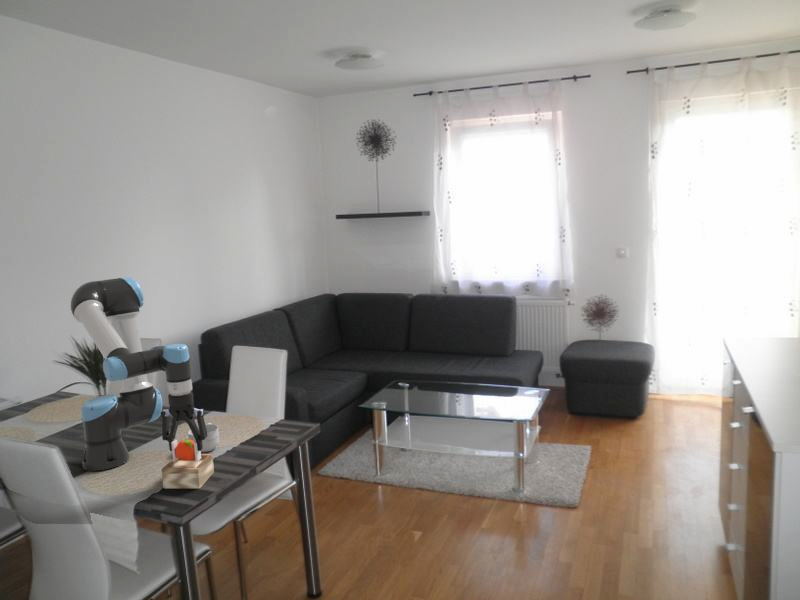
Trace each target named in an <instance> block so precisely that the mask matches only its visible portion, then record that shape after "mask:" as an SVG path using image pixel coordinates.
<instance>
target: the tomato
mask: <svg viewBox="0 0 800 600" xmlns="http://www.w3.org/2000/svg"><path fill="white" fill-rule="evenodd" d="M176 455H177V457H178V458H179V459H180V460H183V461H189V460H192V459H193V458H194V457H195V450H194V441H193V440H190V439H189V438H186V439H182V440H181V441H179V442H178V445H177V447H176Z"/></svg>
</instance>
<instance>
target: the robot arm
mask: <svg viewBox="0 0 800 600" xmlns="http://www.w3.org/2000/svg"><path fill="white" fill-rule="evenodd" d="M144 298H145V297H144V294H143V291H142V288H141V286H140V284H139V283H138V281H136V279H134V278H133V277H118V278H112V279H102V280H93V281H89V282H85V283H83V284H82V285H79V287H78V288H77V289H76V290H75V291H74V293H73V294H72V297H71V300H70V311H71V313H72V315H73V317H74V319H75V320H76V322H78V323H81V324H82V325H83V327H84V329H85V330H86V332H87V334H88V335H89V336H90V338H91V340H92V341H93V343H94V344H95V346H96V347H97V349H98V350H99V352H100V353H101V355H102V357H103V358H104V360H103V363H102V371H103V374H104V377H105V379H107V380H108V381H110V382H115V381H121V383H122V387H121V389H120V390H119V397H117V396H116V395H115V394H106V395H101V396H100V395H99V396H97V397H93V398H92V399H90V400H88V401H86V402H85V403H83V405H82V406H81V421H82V429H83V437H84V442H85V444H84V445H85V447H84V450H83V451H84V452H83V456H82V462H81V463H82V468H83V470H85V471H88V472H89V471H90V472H97V471H96V470H102V471H105V470H104V469H108V470H110V469H109V468H112V467H115V466H118V465H120V466H122V465H124V464H125V463H124V462H126V461H127V460H128V459H130V453H129V450H128V449H127V446H126V444H125V442H124V440H123V439H122V431H123V430H126V429H129V428H133V427H137V426H141V425H143V424H148V423H150V422H154V421H156V420H158V419H159V418H160V416H161V418H162V421H161V422H162V423H161V425H162V427H161V429H162V430H161V431H162V433H161V436H162V438H161V440H163V441H166V442H168V445H169V447H168V448H169V451H170V452H171V453H172V459H173V462H176V461H177V460H178V459H179V458H178V457H177V455H176V447H177V445H178V443H179V442H178V439H176V435H177V431H178V427H179V423H180V422H181V421H182V422H185V423H186V424H187V425H188V427H189V430H191V431H192V434H193V436H194V438H195V440H196V441H195V442H194V450H195V459H196V462H198V461H199V460H200V459H201V454H202V452H201V450H202V449H203V445H202V440H204V439H205V438H206V437H207V436H208V435H207V431H206V426H205V425H206V421H205V417H204V412H205V409H204V408H200V409H199V408H196V406H195V405H194V404H195V403H194V392H193V382H192V374H191V371H192V370H191V364H190V360H191V359H190V351H189V348H188V345H186V344H185V343H173V344H172V343H171V344H169V345H154V346H152V347H150V348H149V349H145V350H143V347H142V342H141V337H140V336H141V335H140V331H139V325H138V320H137V318H138V316H139V314H140V313H141V311H140V308H141V307H143V306H144V303H145V302H144ZM161 371H163V372H165V379H166V388H167V394H168V397H167V398H168V405H169V407H168V409H167V408H164V409H163V398H162V395H161V392H160V390H159V389H157V388H155V387H154V384H153V383H151V382H149V379H148V376H147V374H153V373H156V372H161ZM194 414H195V417H196V421H197V423H196V421H195V417H194ZM170 415H171V416H172V420H171V426H170ZM197 426H198V427H199V429H198V427H197ZM128 461H129V460H128ZM128 461H127V462H128ZM127 462H126V463H127ZM123 463H124V464H123ZM121 464H122V465H121ZM118 467H119V466H118ZM115 468H116V467H115ZM112 469H113V468H112Z"/></svg>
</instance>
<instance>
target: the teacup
mask: <svg viewBox="0 0 800 600" xmlns="http://www.w3.org/2000/svg"><path fill="white" fill-rule="evenodd" d="M205 426H206V431H207V435H208V436H207V437H206V438H205V439H204V440H202V445H203V449H202V450H201V453H208V452H211V451H213V450H215V449H216V447H217V446H218V445H219V443H220V433H219V425H217V424H213V423H212V422H207V424H206V423H205ZM197 427H198V425H197ZM198 429H199V427H198ZM187 435H188V439H190V440H193V441H194V442H195V441H196V440H195V438H194V436H193V434H192V431H191V429H189V430H188V431H187Z"/></svg>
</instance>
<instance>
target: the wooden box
mask: <svg viewBox="0 0 800 600" xmlns="http://www.w3.org/2000/svg"><path fill="white" fill-rule="evenodd" d="M213 457H214V456H213V453H201V459H200V460H199V461H198V462H196V459H195V457H194V458H193V459H192V460H189V461H183V460H180V459H178V460H177V461H176V462H173V458H172V459H171V460H170V461H169V462H168V463H166V465H164V466H163V467H162V468H161V476H162V478H161V479H162V487H163V489H201V488H202V487H203V485H204V484H205V483H206V482H207V481H208V480H209V479H210V478H211V476H212V475H213V474H214V473H215V465H214V458H213Z"/></svg>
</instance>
